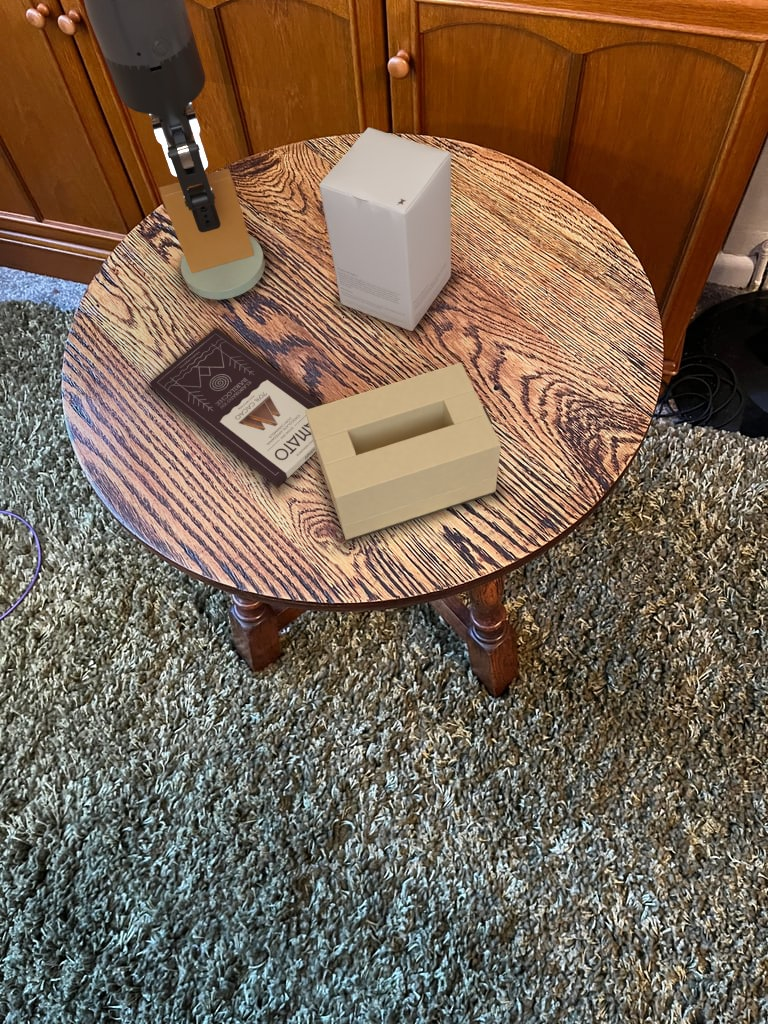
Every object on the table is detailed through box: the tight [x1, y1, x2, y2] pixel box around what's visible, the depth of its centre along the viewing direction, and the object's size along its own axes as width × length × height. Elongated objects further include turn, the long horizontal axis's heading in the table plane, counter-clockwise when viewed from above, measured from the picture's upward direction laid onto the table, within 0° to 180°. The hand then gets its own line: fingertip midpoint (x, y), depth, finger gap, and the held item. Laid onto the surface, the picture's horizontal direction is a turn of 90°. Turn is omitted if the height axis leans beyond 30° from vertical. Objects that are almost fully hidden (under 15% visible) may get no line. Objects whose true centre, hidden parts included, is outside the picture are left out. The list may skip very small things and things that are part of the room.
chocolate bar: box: [149, 327, 324, 489], centre depth 75 cm, size 9×1×18 cm
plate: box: [180, 235, 266, 300], centre depth 84 cm, size 9×9×1 cm
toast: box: [158, 168, 254, 273], centre depth 79 cm, size 7×1×10 cm, turn 108°
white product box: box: [318, 127, 452, 332], centre depth 74 cm, size 9×9×15 cm
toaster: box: [305, 362, 502, 543], centre depth 67 cm, size 15×9×8 cm, turn 108°
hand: (201, 200), depth 76 cm, fingers open, 8 cm apart
